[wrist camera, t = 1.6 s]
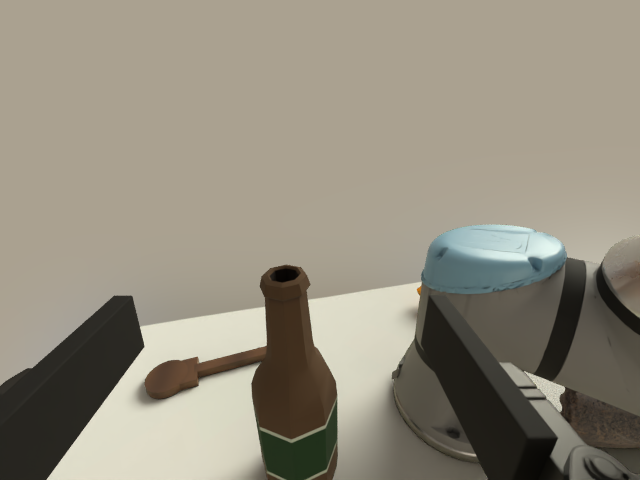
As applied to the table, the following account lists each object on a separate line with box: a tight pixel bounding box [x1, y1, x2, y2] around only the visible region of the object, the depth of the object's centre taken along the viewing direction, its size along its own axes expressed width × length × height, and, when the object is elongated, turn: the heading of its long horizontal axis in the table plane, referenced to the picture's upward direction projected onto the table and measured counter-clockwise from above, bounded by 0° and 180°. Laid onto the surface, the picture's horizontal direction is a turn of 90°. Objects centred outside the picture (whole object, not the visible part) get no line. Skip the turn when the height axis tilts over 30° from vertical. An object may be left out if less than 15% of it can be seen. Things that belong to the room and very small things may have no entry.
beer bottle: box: [251, 265, 338, 480], centre depth 27 cm, size 8×8×24 cm
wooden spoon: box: [145, 346, 267, 399], centre depth 45 cm, size 20×6×1 cm, turn 109°
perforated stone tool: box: [560, 387, 640, 448], centre depth 33 cm, size 15×5×7 cm, turn 84°
